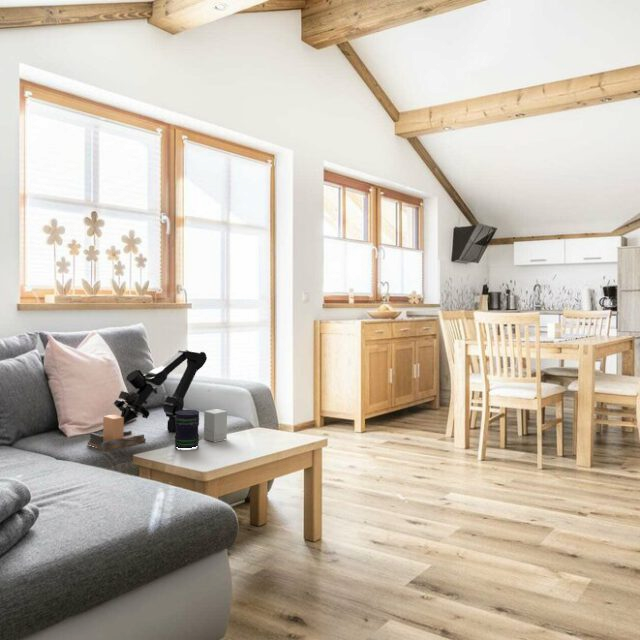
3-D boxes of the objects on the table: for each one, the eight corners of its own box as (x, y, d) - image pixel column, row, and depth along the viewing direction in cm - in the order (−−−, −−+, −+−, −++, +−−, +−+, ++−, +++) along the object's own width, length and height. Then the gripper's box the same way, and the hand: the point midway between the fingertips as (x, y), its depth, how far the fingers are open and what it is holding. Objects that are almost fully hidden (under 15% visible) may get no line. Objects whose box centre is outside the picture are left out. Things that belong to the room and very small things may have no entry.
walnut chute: (128, 436, 285) (128, 424, 284) (145, 441, 277) (145, 429, 277) (87, 445, 269) (87, 432, 269) (104, 451, 262) (104, 437, 261)
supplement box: (227, 439, 285) (227, 411, 284) (213, 442, 280) (214, 413, 279) (216, 436, 290) (217, 408, 289) (203, 439, 285) (203, 410, 284)
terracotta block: (113, 437, 276) (113, 414, 275) (123, 440, 271) (123, 417, 271) (103, 439, 272) (103, 416, 271) (112, 443, 267) (113, 419, 267)
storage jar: (169, 448, 268) (170, 413, 267) (183, 443, 277) (183, 408, 276) (190, 451, 265) (191, 415, 263) (203, 446, 274) (204, 411, 272)
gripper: (117, 381, 282) (94, 409, 274) (144, 387, 270) (120, 417, 263) (132, 396, 289) (110, 425, 281) (159, 403, 277) (136, 433, 269)
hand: (119, 424), depth 273 cm, fingers closed, pressing on terracotta block
